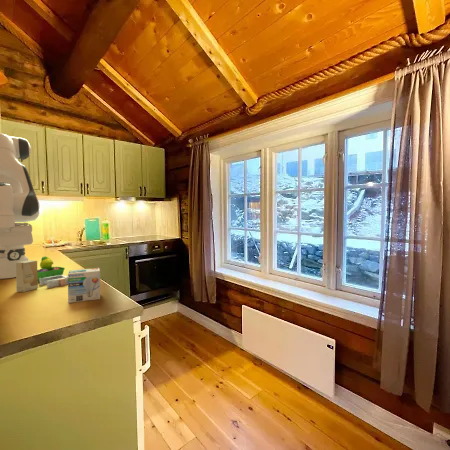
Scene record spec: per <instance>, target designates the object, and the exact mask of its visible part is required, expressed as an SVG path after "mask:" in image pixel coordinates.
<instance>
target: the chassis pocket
mask: <svg viewBox="0 0 450 450" xmlns="http://www.w3.org/2000/svg"><path fill="white" fill-rule="evenodd" d="M45 285H46V288H47V289H51V288H56V287H64V286H66V285H68V275H64V274H63V275H57V276H51V277H45V278H40V281H39V286H45Z"/></svg>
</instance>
